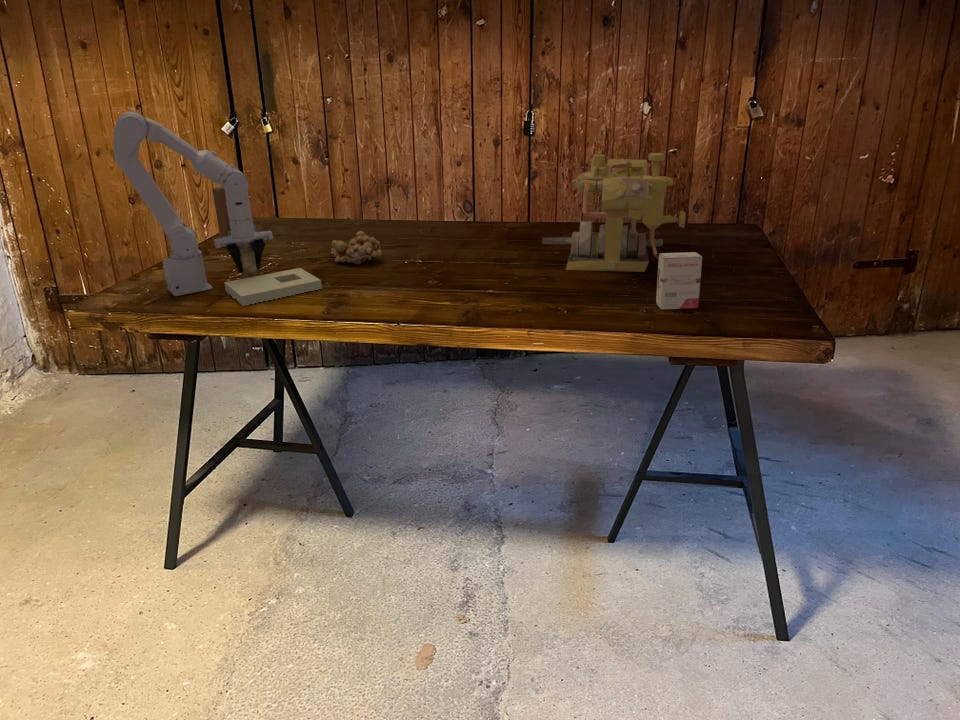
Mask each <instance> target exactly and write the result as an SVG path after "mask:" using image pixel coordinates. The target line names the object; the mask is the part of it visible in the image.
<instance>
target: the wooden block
mask: <svg viewBox="0 0 960 720" xmlns="http://www.w3.org/2000/svg"><path fill="white" fill-rule="evenodd" d="M212 195H213V197H212V198H213V202H214V207H215V213H216V219H217V224H218V229H219V235H218V236H217V237H218V238H217V239H219V238H223V237H227V236H226V234H227V233H228V232H229V231H231V229H230V223H229V217H228V211H227V205H226V201H227V198H226V192H225V189H224V187H223V186H216V187H215V186H214V187H213V188H212ZM248 199H249V198H248ZM249 200H250V201H251V199H249ZM250 206H251V207H252V204H251V203H250ZM251 212H252V213H253V211H252V209H251ZM252 219H253V216H252ZM253 220H254V219H253ZM253 225H255V224H254V222H253ZM236 245H237V246H238V248H240V244H236ZM248 245H249V247H248V248H252V247H251V244H250V242H249V243H248ZM223 248H225V246H224V247H223Z"/></svg>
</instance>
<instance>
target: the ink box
mask: <svg viewBox="0 0 960 720" xmlns="http://www.w3.org/2000/svg"><path fill="white" fill-rule="evenodd" d="M702 265H703V256H702V255H700V254H699V253H698V252H695V251H690V252H662V253H661V252H660V253H658V267H657V279H656V281H657V282H656V294H655V295H656V297H655V299H656V300H655V303H656V305H657V306H658V307H659V308H660V310H680V309H683V310H685V309H698V308H699V302H700V301H699V300H700V292H701V291H700V290H701V278H702V267H703V266H702Z"/></svg>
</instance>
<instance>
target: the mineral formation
mask: <svg viewBox="0 0 960 720" xmlns="http://www.w3.org/2000/svg"><path fill="white" fill-rule="evenodd" d="M331 246H333V247H332V248H331V249H330V251H331V252H330V254H332V256H334V257H335V258H334V262H335V263H345V262H347V263H353V264H355V265H357V264H359V265H361V264H362V262H363V263H364V262H366V261H370V260H371V259H372V257H373V258H380V257H381V256H382V254H383V252H382V250H381V245H380V242H379V241H378V240H377V239H376V238H375V237H374V236H371V237H370V236H369V235H367V234H366V232H364V231H361V230H359V231H357V232H356V233H355V237H354V238H352V239H350V240H349V241H348V242H344V241H343V240H340V239H338V240H335V239H334V240H332V242H331Z"/></svg>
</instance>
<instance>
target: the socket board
mask: <svg viewBox="0 0 960 720" xmlns="http://www.w3.org/2000/svg"><path fill="white" fill-rule="evenodd" d="M223 284H224V288H225V292H226V293H227V294H228V295H229V294H230V295H231V296H232V298H233V299H234V300H235V299H236V300H237V301H238V302H237V301H236V300H235V301H236V302H237V303H238V304H240V305H241V306H243V307H247V306H251V305H250V304H252V305H256V304H259V303H258V302H261V303H264V302H263V301H266V302H269V301H268V300H271V301H274V300H273V299H275V300H278V298H280V299H283V298H282V297H285V298H287V297H286V296H290V297H292V296H291V295H294V296H296V295H295V294H299V293H304V292H308V291H313V292H315V291H314V290H318V289H322V290H323V288H322V279H320V278H318V277H316V276H315V275H313V274H311V273H309V272H308V271H306V270H305V269H303V268H301V267H299V268H293V269H292V268H291V269H287V270H281V271H276V272H271V273H266V274H261V275H260V274H259V275H258V276H255V277H250V278H245V279H242V278H239V279H235V280H230V281H224V283H223ZM318 291H319V290H318ZM304 294H305V293H304ZM230 295H229V296H230ZM299 295H300V294H299ZM231 296H230V297H231ZM255 303H256V304H255ZM246 305H247V306H246Z"/></svg>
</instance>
